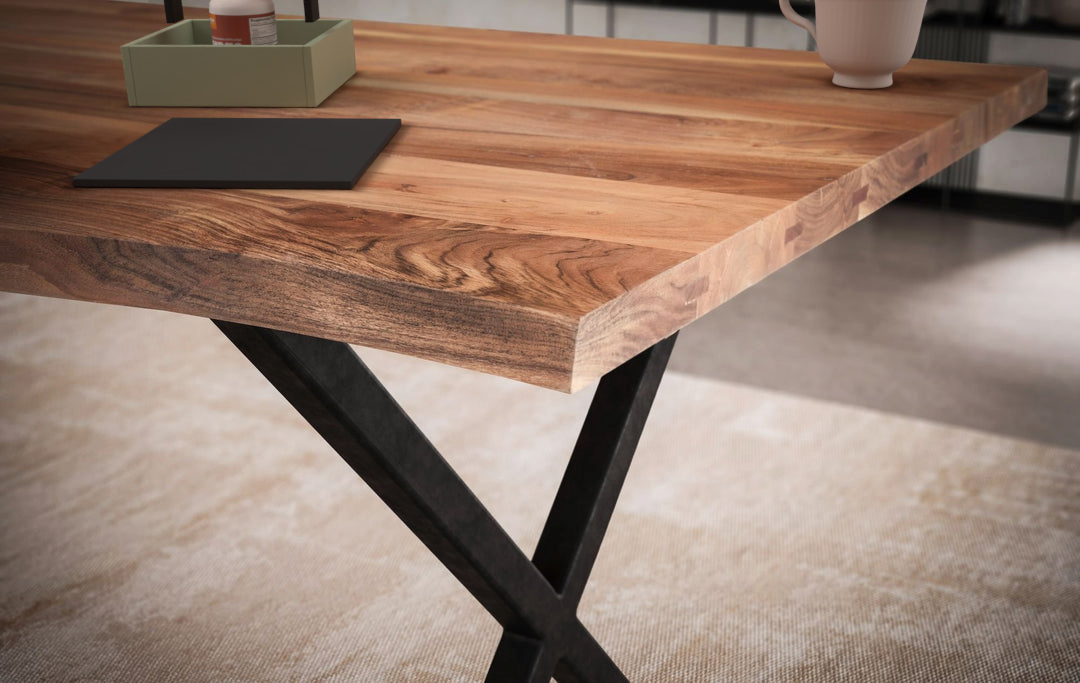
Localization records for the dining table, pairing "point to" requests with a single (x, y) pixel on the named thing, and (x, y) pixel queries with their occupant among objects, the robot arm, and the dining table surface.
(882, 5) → the teacup
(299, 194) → the dining table surface
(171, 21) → the robot arm
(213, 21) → the pill bottle
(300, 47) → the crate
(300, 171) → the mat
